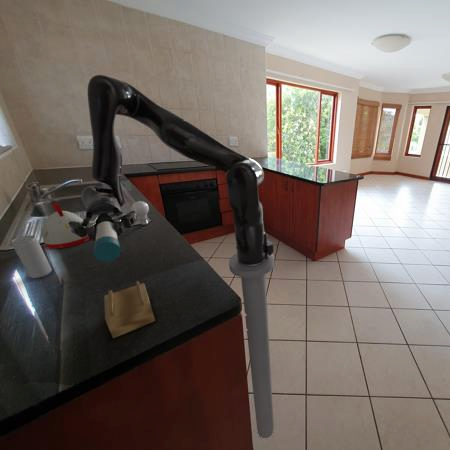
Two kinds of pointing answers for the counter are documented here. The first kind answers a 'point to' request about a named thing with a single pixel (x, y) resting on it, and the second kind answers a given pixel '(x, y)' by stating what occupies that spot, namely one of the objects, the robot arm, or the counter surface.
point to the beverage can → (32, 256)
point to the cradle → (127, 310)
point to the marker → (106, 242)
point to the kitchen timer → (61, 229)
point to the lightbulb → (141, 211)
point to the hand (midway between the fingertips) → (106, 234)
